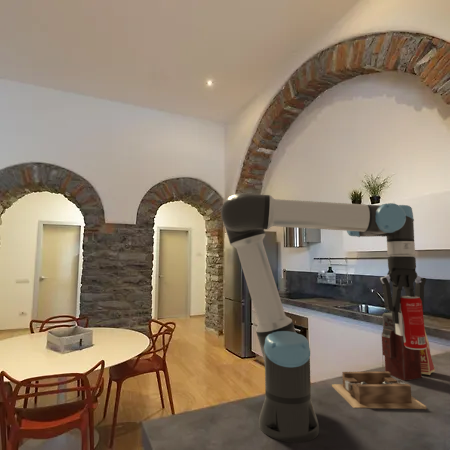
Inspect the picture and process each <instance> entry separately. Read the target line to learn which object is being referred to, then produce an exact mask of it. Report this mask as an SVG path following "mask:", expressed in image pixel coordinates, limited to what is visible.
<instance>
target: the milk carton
mask: <svg viewBox="0 0 450 450" xmlns="http://www.w3.org/2000/svg"><path fill="white" fill-rule="evenodd" d="M426 332H427V331H425V337H426V346H427V347H426V349H423V350H420V361H421V375H429V376H430V375H431V374H432V373H434V372H435V371H436V369H435V366H434V362H433V358H432V355H431V349H430V343H429V342H430V341H429V338H428V335H427V333H426Z"/></svg>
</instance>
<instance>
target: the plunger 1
mask: <svg viewBox="0 0 450 450" xmlns="http://www.w3.org/2000/svg"><path fill="white" fill-rule="evenodd" d="M352 384H367V383H366V382H361V383H350V382H349V381H345V387H346V389H347V390H348V391H351V388H352Z"/></svg>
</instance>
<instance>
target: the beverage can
mask: <svg viewBox="0 0 450 450" xmlns="http://www.w3.org/2000/svg"><path fill="white" fill-rule="evenodd" d="M414 296H415V295H414ZM400 309H401V313H402V324H403V338H404V346H405V347H406V348H409V349H413V350H423V349H426V347H427V346H426V337H425V332H426V328H425V319H424V308H423V309H422V301H421V299H420V297H419V296H415V297H413V296H412V297H410V296H406V295H401V297H400Z"/></svg>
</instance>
